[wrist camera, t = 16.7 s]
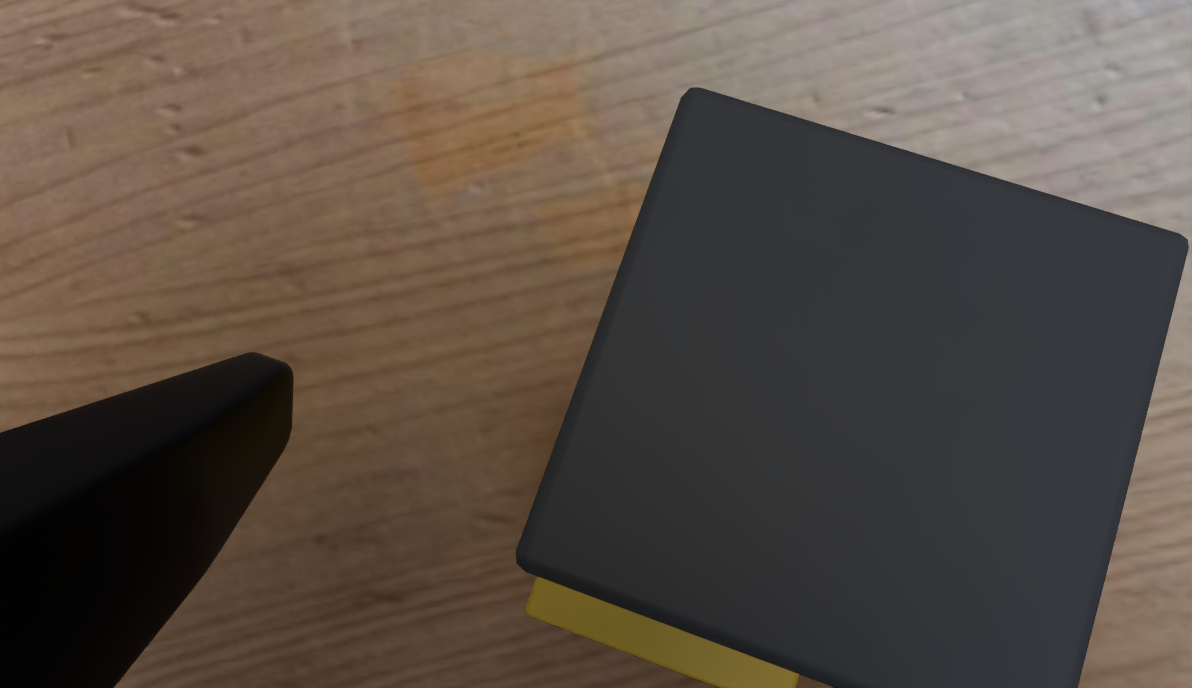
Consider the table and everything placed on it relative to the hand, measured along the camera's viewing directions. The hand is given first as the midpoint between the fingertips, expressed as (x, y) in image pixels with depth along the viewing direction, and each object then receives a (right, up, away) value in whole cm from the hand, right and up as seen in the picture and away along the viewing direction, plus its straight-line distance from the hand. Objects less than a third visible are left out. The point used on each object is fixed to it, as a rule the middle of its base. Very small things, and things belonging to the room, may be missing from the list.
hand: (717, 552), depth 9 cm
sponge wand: (+1, -1, +9) cm, 9 cm away
